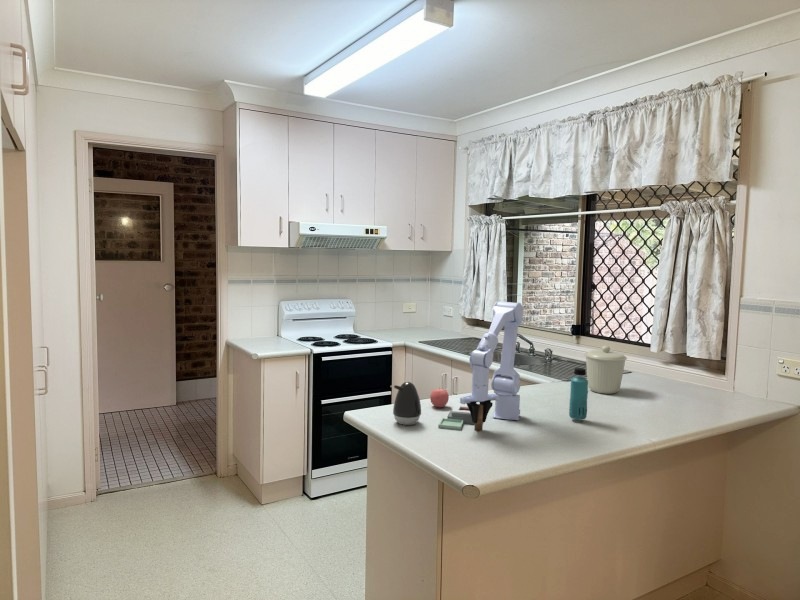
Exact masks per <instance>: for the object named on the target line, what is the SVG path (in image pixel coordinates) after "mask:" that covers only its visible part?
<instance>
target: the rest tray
mask: <svg viewBox="0 0 800 600" xmlns="http://www.w3.org/2000/svg"><path fill="white" fill-rule="evenodd" d="M464 424H465V423H464V420H458V419H447V418H446V417H441V419H440V421H439V423H438V424H437V425H438V426H437V428H438V429H446V430H454V431H455V430H456V431H461V430H462V428H463V426H464Z"/></svg>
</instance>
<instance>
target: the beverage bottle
mask: <svg viewBox="0 0 800 600" xmlns="http://www.w3.org/2000/svg"><path fill="white" fill-rule="evenodd" d="M573 375H576V376H574V377H572V378H571V379H570V394H569V395H570V397H569V403H568V404H569V408H568V410H569V411H568V415H569V417H570V418H571V419H574V420H586V419H587V414H588V396H589V394H588V393H589V387H588V380H587V377H584V376H587V371H586V369H585V368H582V367H576V368H574V371H573Z"/></svg>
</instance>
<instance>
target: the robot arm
mask: <svg viewBox="0 0 800 600" xmlns="http://www.w3.org/2000/svg"><path fill="white" fill-rule="evenodd" d="M492 315H493V318H492V321H491V324H490V327H489V329H488V332H486V333H483V335H482V338H481V340H480V341H479V343H478V345H477V348H476V349H475V350H471V352H470V355H469V364H470V369H471V375H472V376H471V394H469V395H467V396H464V397H463V396H462V397H461V396H460V397H459V403H460V405H467V406H468V408H469V410H470V413H471V417H472V422H473V423H477V417H478V410H479V407H480V406H479V405H477V404H482V405H483V423H486V422H487V421H486V420H487V416H488V414H489V412H490V409H491V408H492V407H493V403H495V405H494V412H493V416H492V418H493V419H500V420H501V419H502V420H509V421H510V420H513V421H519V419H520V415H521V409H520V405H521V403H520V401H521V395H520V394H518V393H519V392H520V390H521V389H520V388H521V380H520V379H521V377H520V376H521V375H520V373H519V372H517V371H516V369H515V368H514V366H515V359H516V357H515V356H516V350H517V349H516V348H517V339H518V331H519V329H518V328H519V326H520V325H522V324H523V323H522V322H523V319H524V318H523V317H524V308H523V304H522V303H521V302H509V301H500V300H496V301H495V302H494V304H493V306H492ZM503 328H504V330H503ZM502 330H503V337H502V339H503V340H502V349H501V356H500V358H501V359H500V366H499V367H498V368H497V369H496V370H494V371H493V375H492V378H491V380H490V388H491V389H492V391H493V393H489V379H490V367H492V363H493V360H494V351H495V349H496V347H497V345H498V343H499V338H498V337H499V334H500V332H501V331H502ZM493 401H494V402H493Z"/></svg>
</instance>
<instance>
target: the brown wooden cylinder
mask: <svg viewBox="0 0 800 600" xmlns="http://www.w3.org/2000/svg"><path fill="white" fill-rule="evenodd" d="M477 405H479V406H480V407H479V410H478V417H477V423H475V424H474V427H473V429H474V431H475V432H483V423H484V422H483V405H482V404H480V403H477Z"/></svg>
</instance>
